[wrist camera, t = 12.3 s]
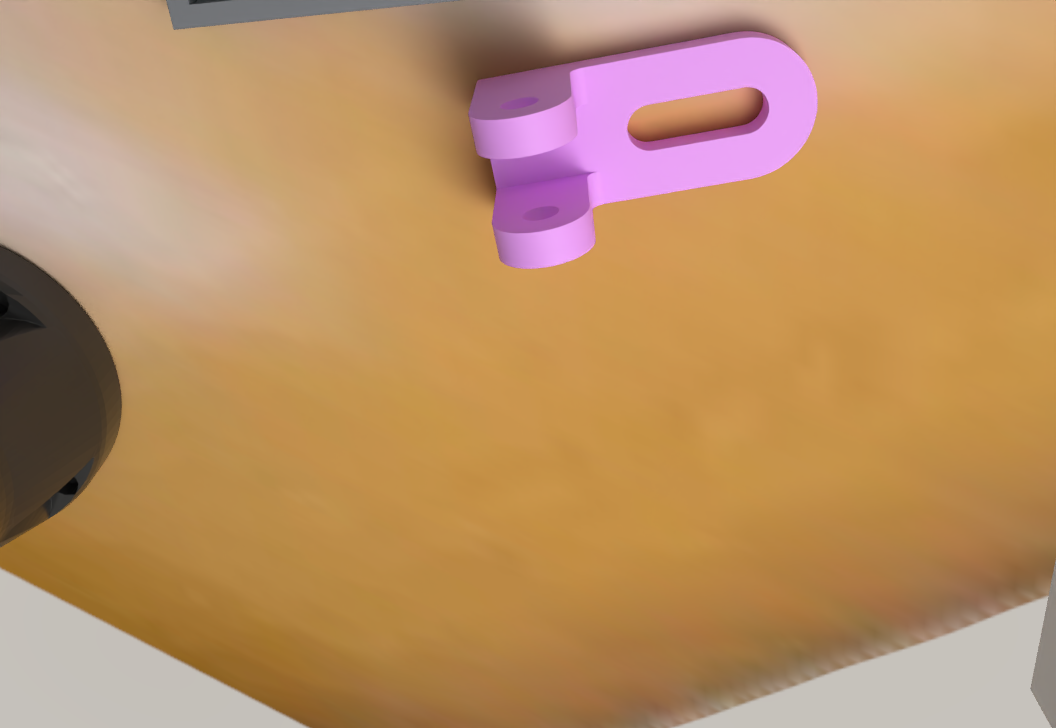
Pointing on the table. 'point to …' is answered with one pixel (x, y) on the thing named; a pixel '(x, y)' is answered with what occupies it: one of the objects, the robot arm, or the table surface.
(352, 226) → the table surface
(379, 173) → the table surface
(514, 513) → the table surface
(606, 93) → the bracket
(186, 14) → the tray
